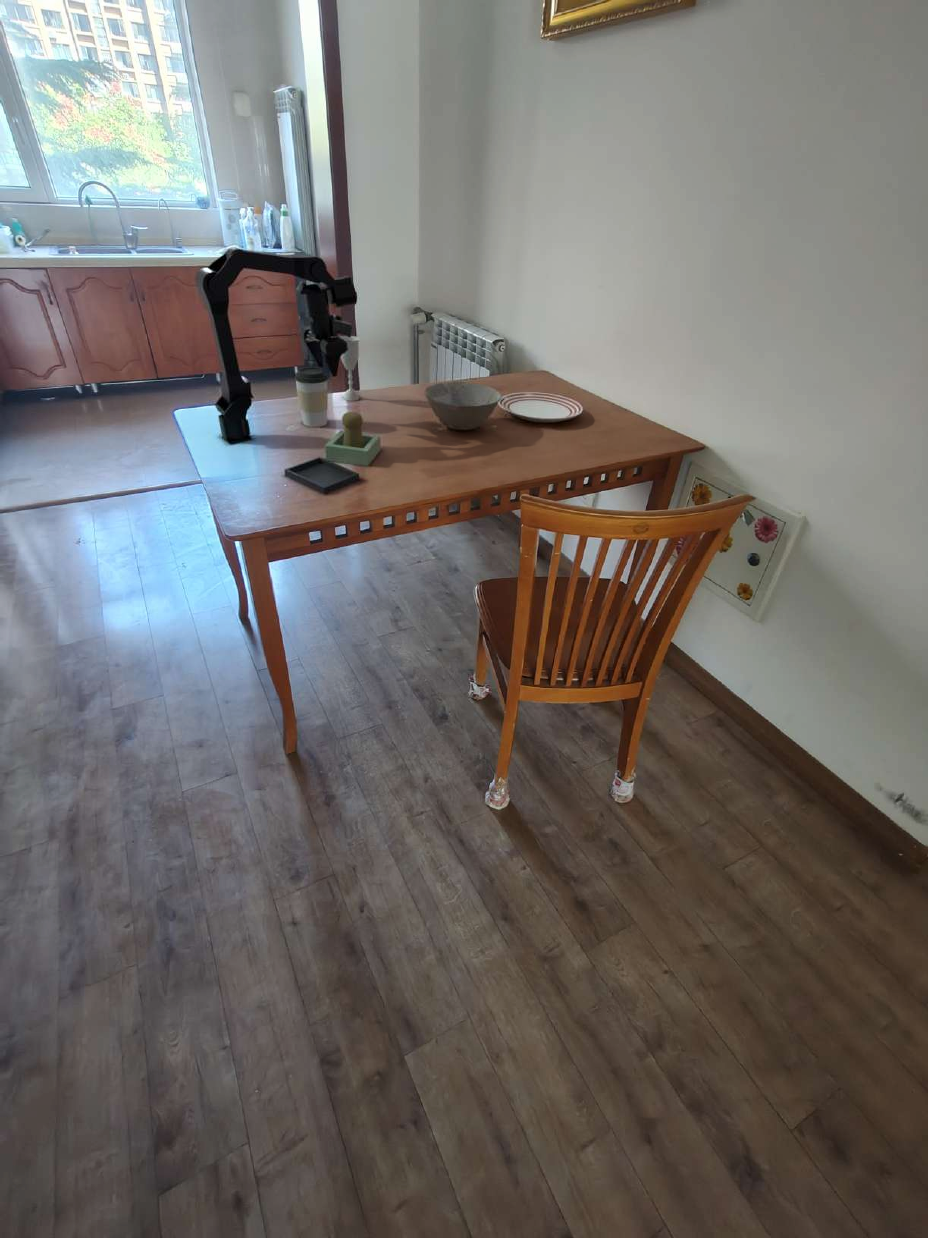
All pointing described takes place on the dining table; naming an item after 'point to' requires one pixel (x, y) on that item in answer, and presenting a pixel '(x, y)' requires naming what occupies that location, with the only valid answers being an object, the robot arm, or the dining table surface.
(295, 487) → the dining table surface
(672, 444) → the dining table surface
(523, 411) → the dinner plate
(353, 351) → the chalice
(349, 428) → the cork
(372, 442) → the caddy
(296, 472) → the tray
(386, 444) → the dining table surface
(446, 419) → the ceramic bowl
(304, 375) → the coffee cup
